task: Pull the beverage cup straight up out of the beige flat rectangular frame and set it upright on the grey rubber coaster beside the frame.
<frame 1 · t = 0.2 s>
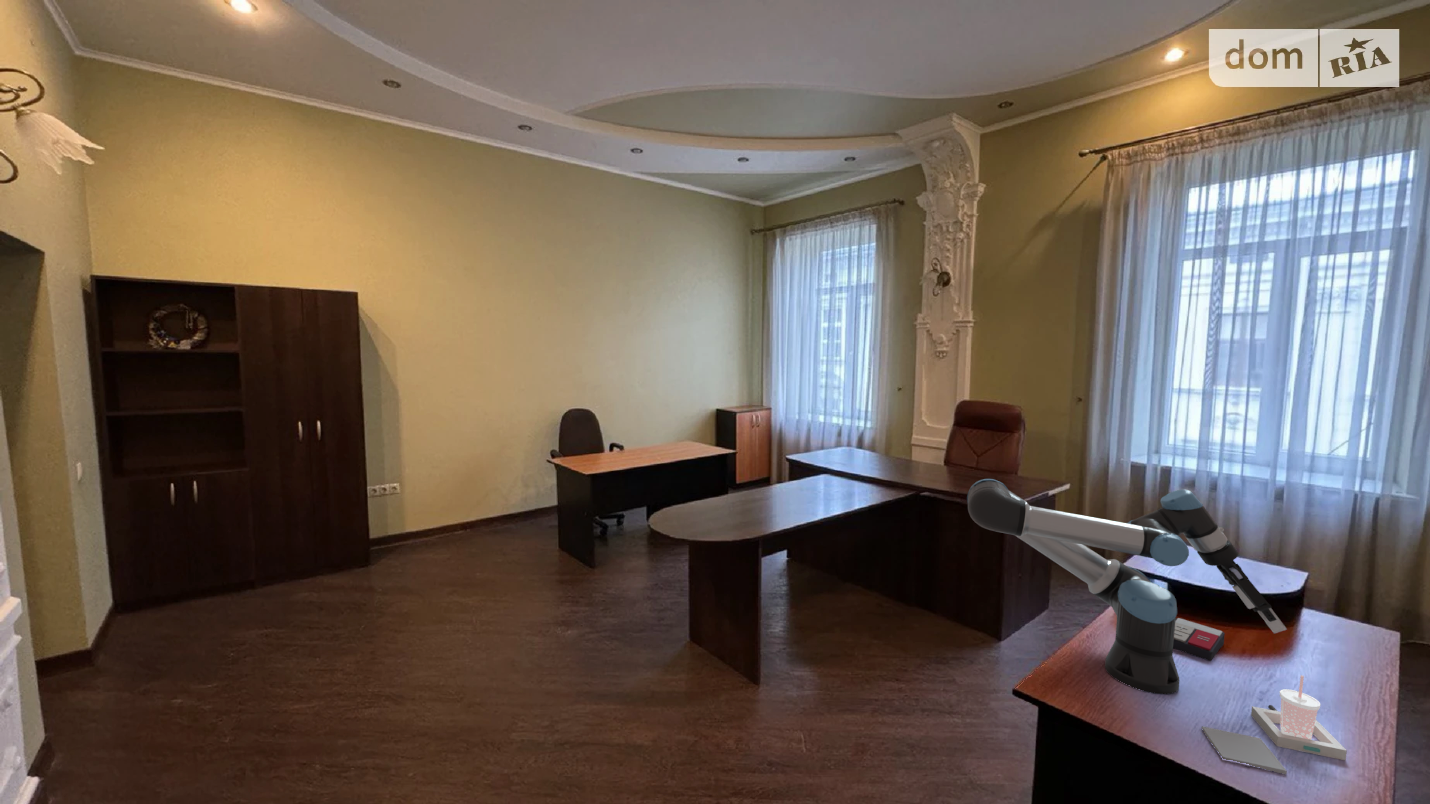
hand: (1266, 618, 142), 15 cm above the table, tool tilted 35°, fingers open, 13 cm apart
beverage cup: (1295, 737, 121), resting in beige flat rectangular frame
coaster pad: (1241, 750, 117), on the table
red and black box: (1192, 645, 159), on the table
beige flat rectangular frame: (1295, 736, 121), on the table
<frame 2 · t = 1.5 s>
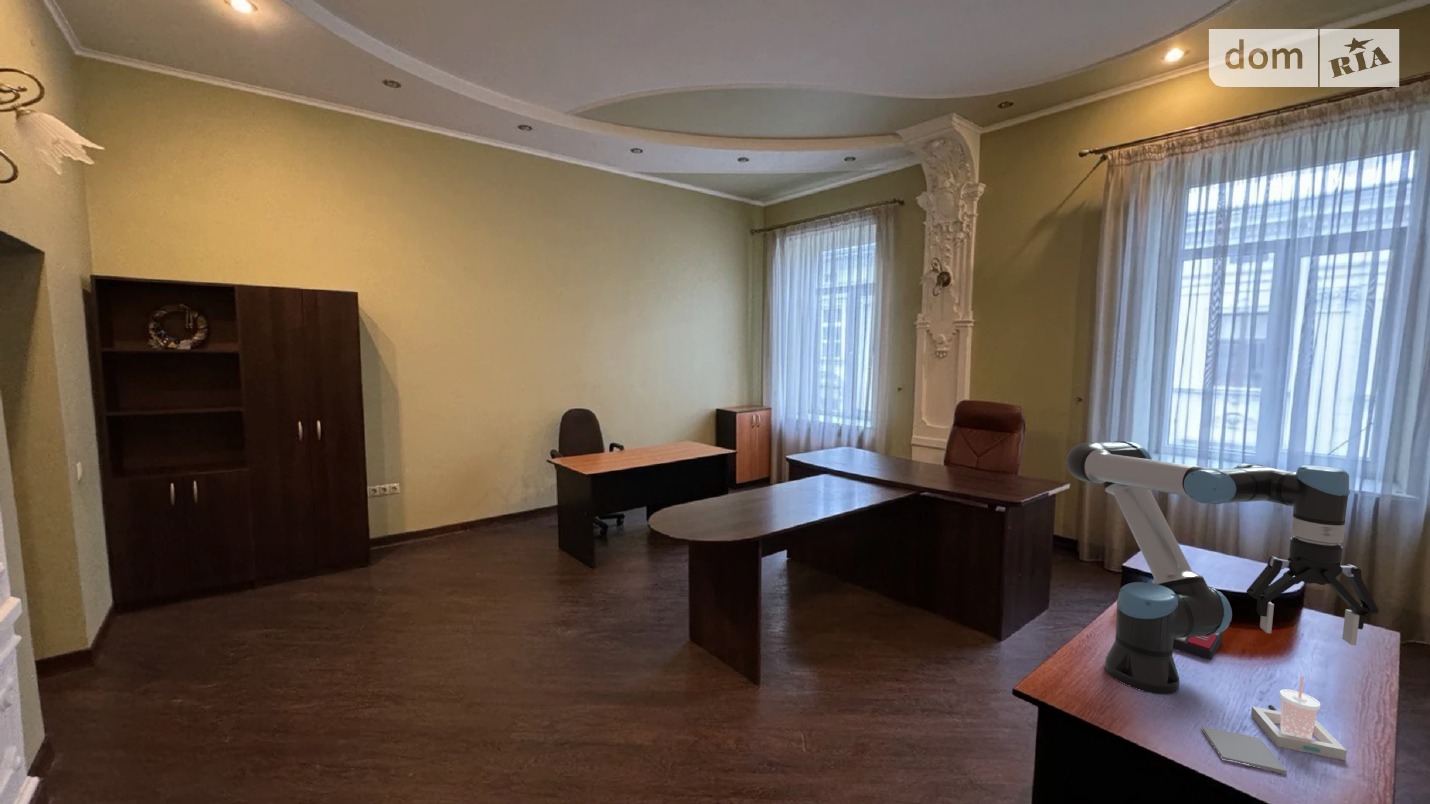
hand: (1306, 636, 119), 23 cm above the table, tool pointing down, fingers open, 13 cm apart
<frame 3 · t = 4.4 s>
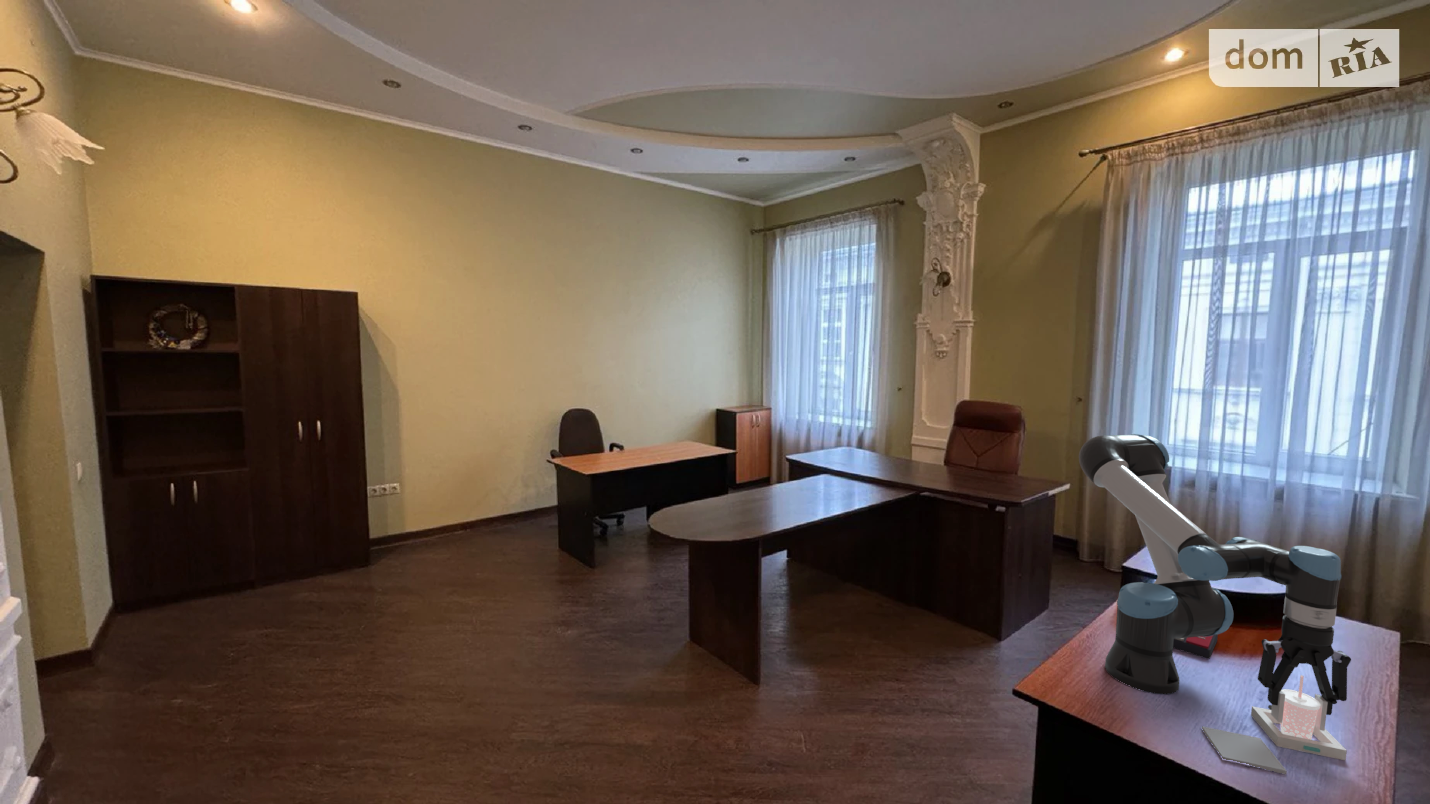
hand: (1297, 722, 121), 3 cm above the table, tool pointing down, fingers closed on beverage cup, 6 cm apart
beverage cup: (1295, 737, 121), resting in beige flat rectangular frame, touching gripper
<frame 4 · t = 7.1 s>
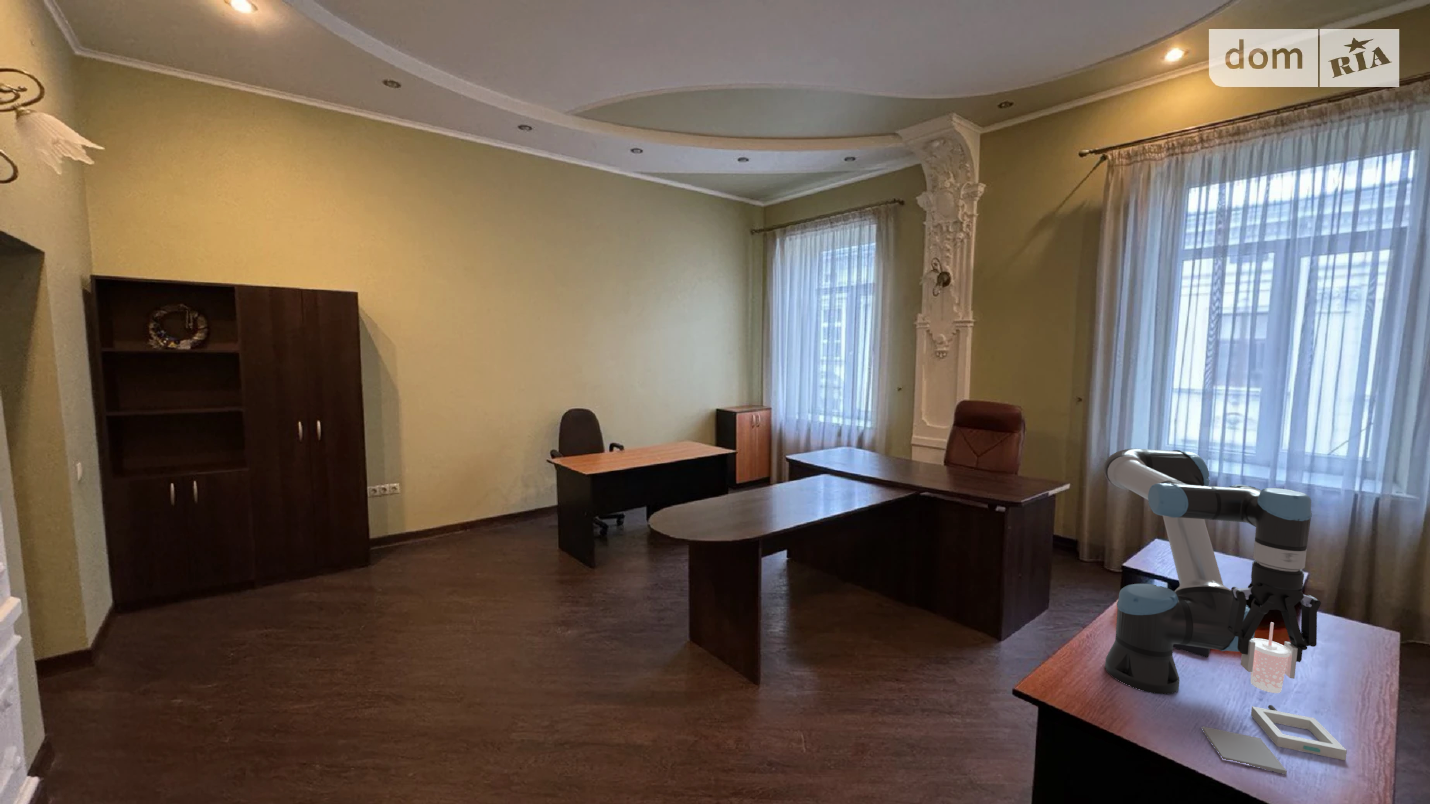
hand: (1266, 671, 116), 17 cm above the table, tool pointing down, fingers closed on beverage cup, 6 cm apart
beverage cup: (1265, 687, 117), point 13 cm above the table, touching gripper
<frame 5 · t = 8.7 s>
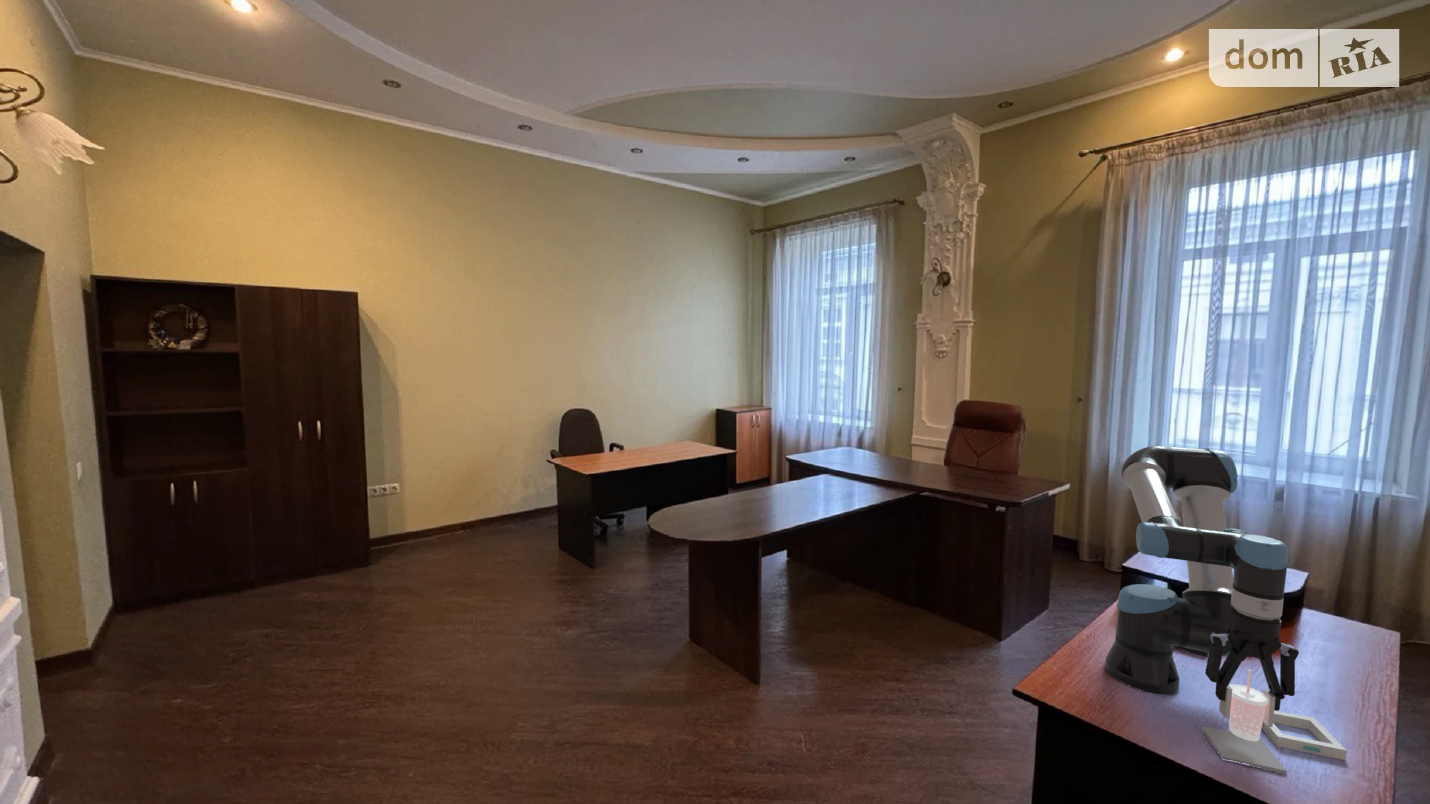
hand: (1245, 718, 116), 7 cm above the table, tool pointing down, fingers closed on beverage cup, 6 cm apart
beverage cup: (1243, 734, 116), point 4 cm above the table, touching gripper
when the fingers open (5 cm above the table, at t = 9.8 s): beverage cup stays where it is, resting on coaster pad.
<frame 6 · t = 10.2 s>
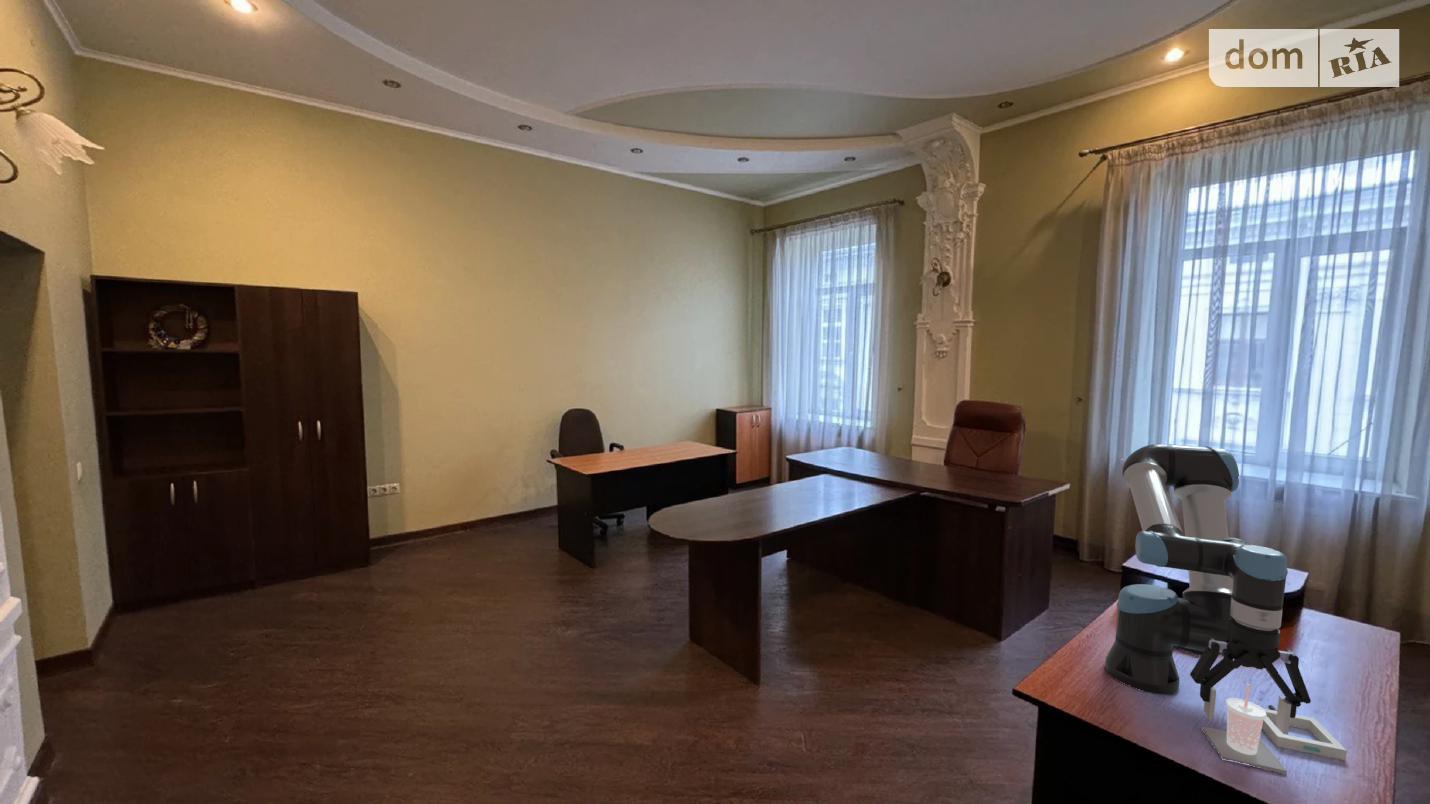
hand: (1244, 722, 116), 6 cm above the table, tool pointing down, fingers open, 11 cm apart
beverage cup: (1241, 747, 117), point 1 cm above the table, touching coaster pad
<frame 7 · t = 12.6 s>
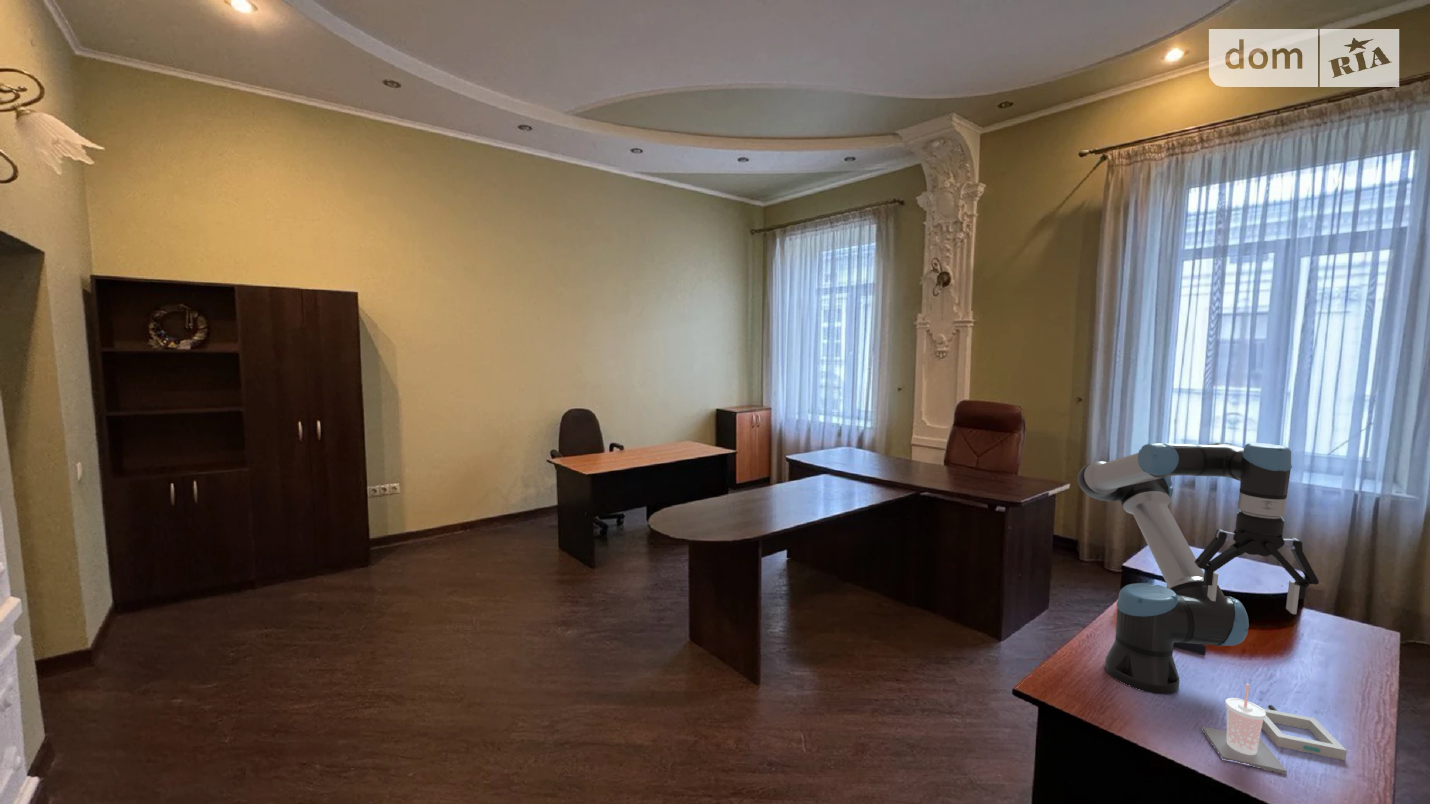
hand: (1250, 605, 125), 26 cm above the table, tool pointing down, fingers open, 13 cm apart
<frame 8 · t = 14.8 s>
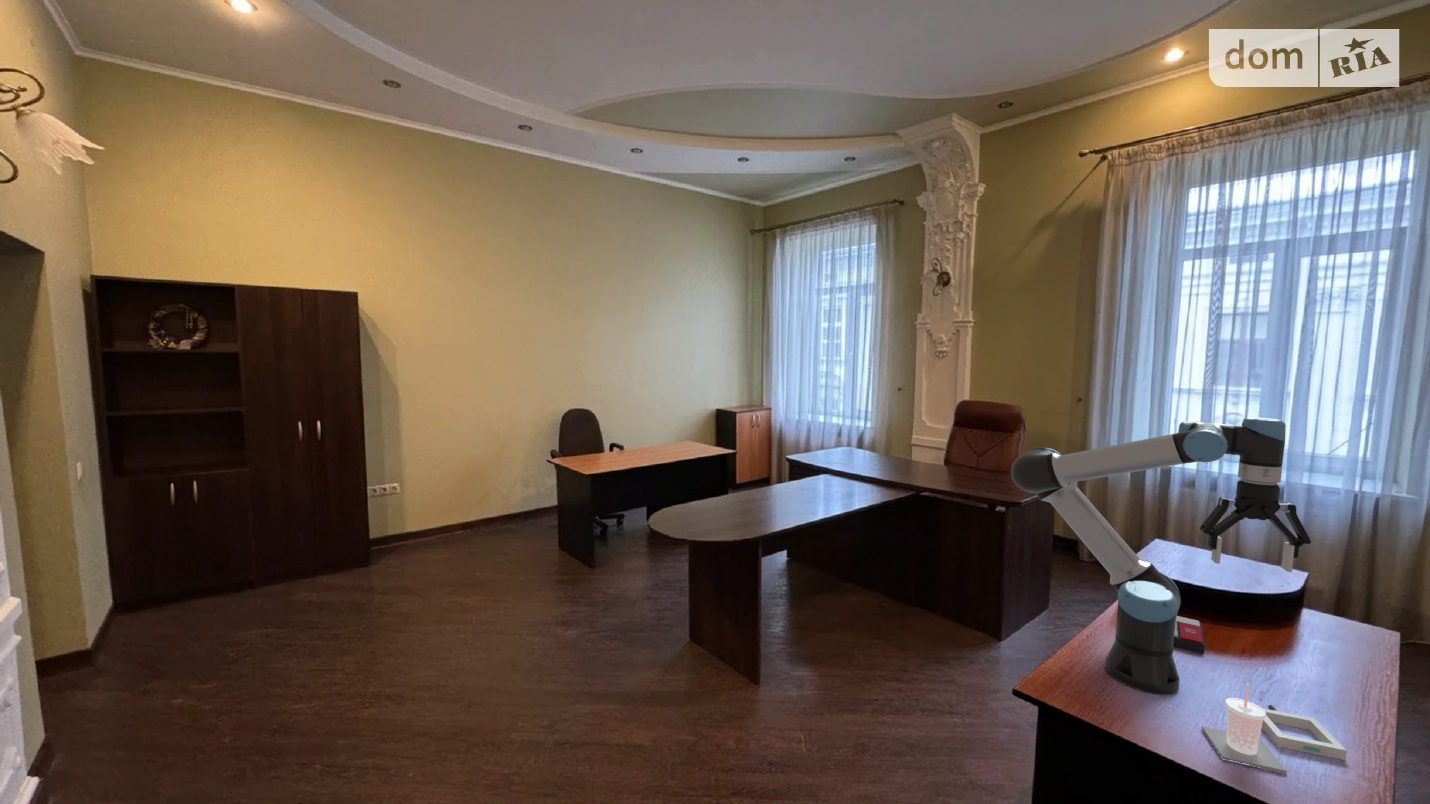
hand: (1250, 565, 137), 31 cm above the table, tool pointing down, fingers open, 13 cm apart
at the end: beverage cup 0.1 cm off-centre on the coaster pad, point 0.6 cm above the coaster pad's base; beverage cup tilted 0°; the gripper is holding nothing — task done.
